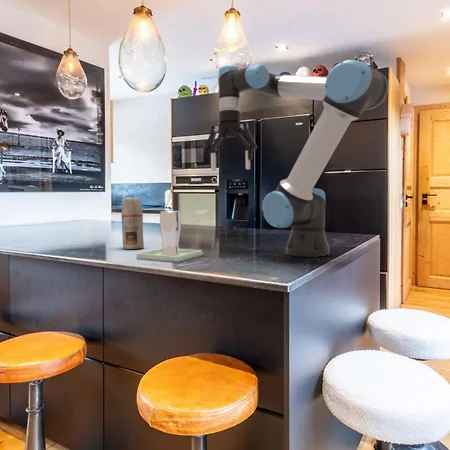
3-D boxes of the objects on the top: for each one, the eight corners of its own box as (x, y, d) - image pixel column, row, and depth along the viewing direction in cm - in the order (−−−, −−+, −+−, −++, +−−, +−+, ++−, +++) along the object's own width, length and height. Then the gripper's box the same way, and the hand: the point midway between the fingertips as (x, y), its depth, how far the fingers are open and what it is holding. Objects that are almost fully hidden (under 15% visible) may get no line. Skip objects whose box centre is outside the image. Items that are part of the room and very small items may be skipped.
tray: (202, 255, 142) (202, 250, 142) (177, 262, 128) (177, 257, 128) (164, 252, 149) (164, 247, 149) (136, 259, 135) (136, 253, 135)
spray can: (117, 249, 157) (116, 197, 156) (130, 246, 165) (129, 197, 163) (136, 250, 154) (135, 197, 153) (148, 247, 162) (147, 197, 160)
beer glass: (177, 257, 135) (176, 212, 133) (157, 256, 136) (156, 211, 135) (183, 254, 141) (183, 210, 140) (164, 253, 143) (163, 210, 141)
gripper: (265, 109, 147) (266, 169, 148) (203, 116, 156) (204, 171, 158) (258, 105, 140) (259, 167, 141) (194, 112, 150) (195, 170, 151)
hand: (230, 170), depth 149 cm, fingers open, 13 cm apart
